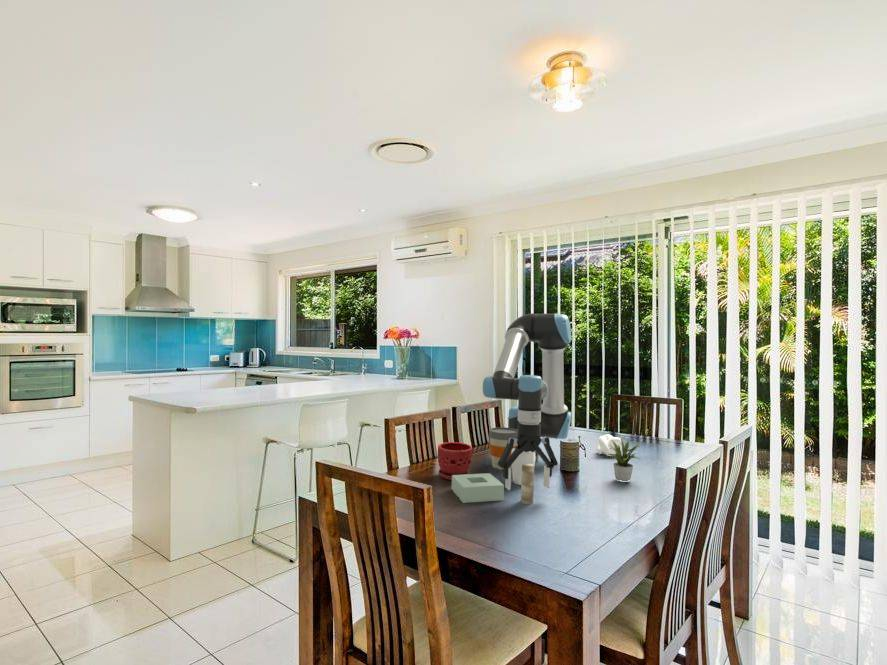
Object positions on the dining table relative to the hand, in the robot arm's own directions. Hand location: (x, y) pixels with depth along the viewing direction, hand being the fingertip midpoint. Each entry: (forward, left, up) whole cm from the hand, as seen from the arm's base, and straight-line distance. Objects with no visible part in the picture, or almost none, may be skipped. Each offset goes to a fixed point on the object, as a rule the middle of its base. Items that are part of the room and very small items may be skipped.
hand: (527, 487), depth 168 cm
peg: (0, 0, -5) cm, 5 cm away
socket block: (+14, -10, -5) cm, 18 cm away
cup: (-7, -20, -5) cm, 22 cm away
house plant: (-46, -14, -5) cm, 48 cm away
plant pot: (+16, -31, -5) cm, 35 cm away
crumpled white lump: (-63, -53, -5) cm, 83 cm away
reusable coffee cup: (-8, -42, -5) cm, 43 cm away
